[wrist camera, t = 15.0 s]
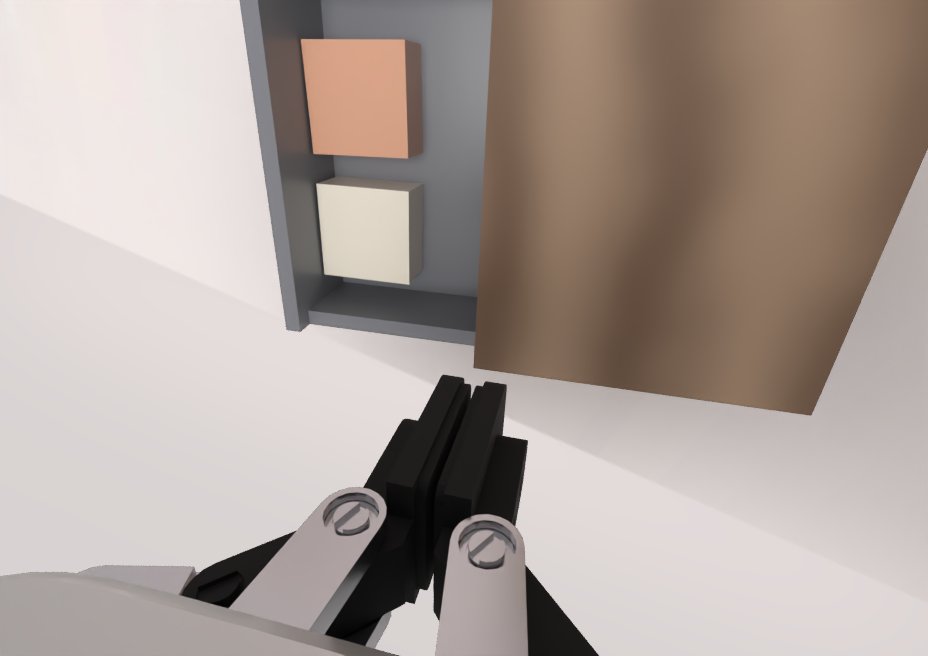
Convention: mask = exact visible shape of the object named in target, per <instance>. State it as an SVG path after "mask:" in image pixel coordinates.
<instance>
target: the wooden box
mask: <svg viewBox="0 0 928 656" xmlns="http://www.w3.org/2000/svg"><path fill="white" fill-rule="evenodd" d="M927 149H928V0H493V3H492V23H491V42H490V61H489V81H488V100H487V119H486V138H485V158H484V177H483V196H482V216H481V235H480V254H479V274H478V293H477V312H476V331H475V351H474V368H478V369H485V370H492V371H499V372H506V373H513V374H520V375H527V376H534V377H541V378H549V379H556V380H563V381H570V382H577V383H584V384H591V385H598V386H605V387H612V388H619V389H627V390H634V391H641V392H648V393H655V394H662V395H669V396H676V397H683V398H690V399H697V400H705V401H712V402H719V403H726V404H733V405H740V406H747V407H754V408H761V409H768V410H776V411H783V412H790V413H797V414H804V415H812V413H813V410H814V408H815V406H816V404H817V401H818V399H819V397H820V394H821V392H822V390H823V387H824V385H825V383H826V381H827V378H828V376H829V374H830V371H831V369H832V367H833V365H834V362H835V360H836V358H837V355H838V353H839V351H840V348H841V346H842V344H843V342H844V339H845V337H846V335H847V332H848V330H849V328H850V325H851V323H852V321H853V319H854V316H855V314H856V312H857V309H858V307H859V305H860V303H861V300H862V298H863V296H864V293H865V291H866V289H867V286H868V284H869V282H870V280H871V277H872V275H873V273H874V270H875V268H876V266H877V263H878V261H879V259H880V257H881V254H882V252H883V250H884V247H885V245H886V243H887V240H888V238H889V236H890V234H891V231H892V229H893V227H894V224H895V222H896V220H897V218H898V215H899V213H900V211H901V208H902V206H903V204H904V201H905V199H906V197H907V195H908V192H909V190H910V188H911V185H912V183H913V181H914V178H915V176H916V174H917V172H918V169H919V167H920V165H921V162H922V160H923V158H924V156H925V153H926V151H927Z"/></svg>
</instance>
